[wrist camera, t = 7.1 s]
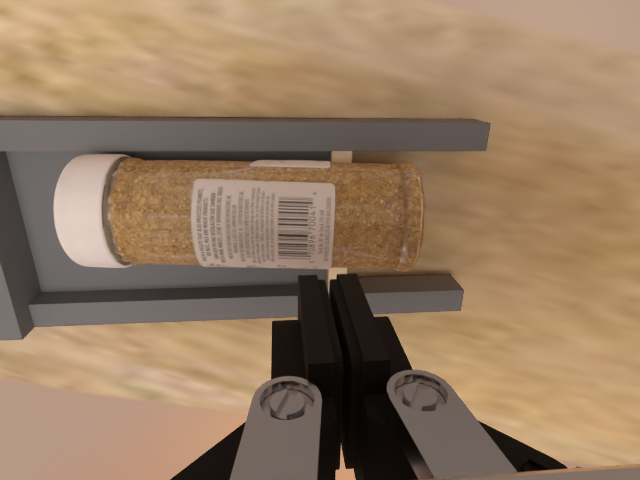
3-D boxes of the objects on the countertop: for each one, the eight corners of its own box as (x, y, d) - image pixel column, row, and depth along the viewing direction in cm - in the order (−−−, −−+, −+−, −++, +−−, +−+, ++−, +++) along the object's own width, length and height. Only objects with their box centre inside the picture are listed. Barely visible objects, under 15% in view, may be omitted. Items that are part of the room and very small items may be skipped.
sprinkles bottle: (412, 142, 18) (89, 134, 17) (435, 201, 14) (29, 191, 14) (397, 230, 20) (119, 223, 20) (413, 298, 17) (75, 291, 17)
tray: (472, 118, 20) (501, 125, 17) (447, 293, 23) (468, 321, 21) (-25, 115, 18) (-76, 122, 15) (28, 308, 21) (-7, 340, 19)
